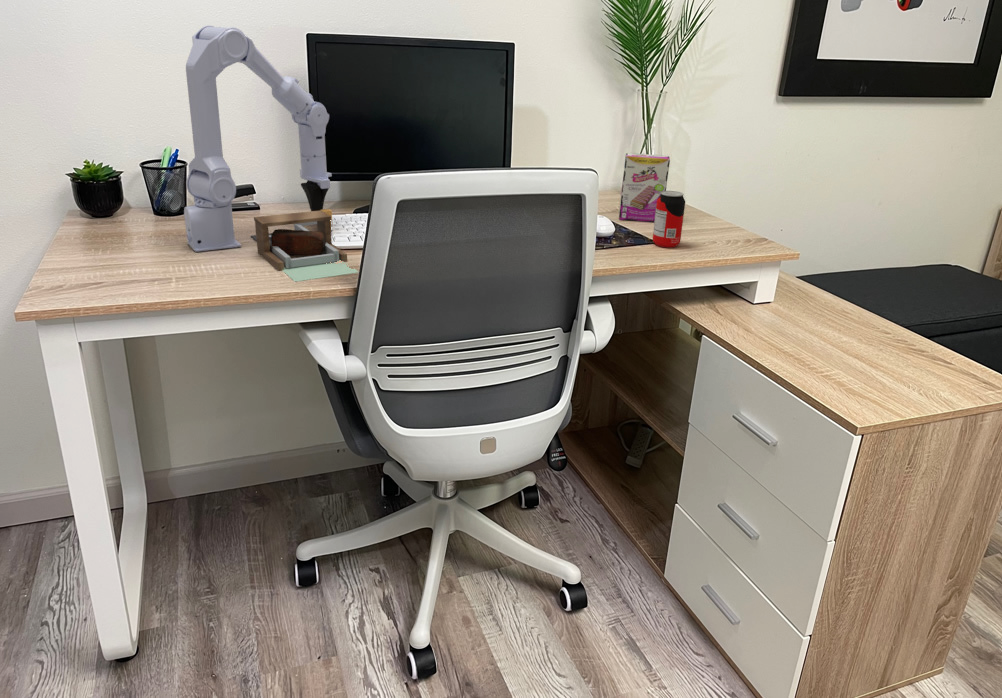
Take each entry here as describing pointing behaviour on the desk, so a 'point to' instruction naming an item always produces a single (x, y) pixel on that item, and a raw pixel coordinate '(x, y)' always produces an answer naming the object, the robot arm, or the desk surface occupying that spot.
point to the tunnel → (285, 219)
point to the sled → (329, 256)
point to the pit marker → (255, 237)
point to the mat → (318, 271)
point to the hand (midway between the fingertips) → (316, 213)
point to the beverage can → (668, 219)
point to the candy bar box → (642, 185)
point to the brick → (299, 242)
